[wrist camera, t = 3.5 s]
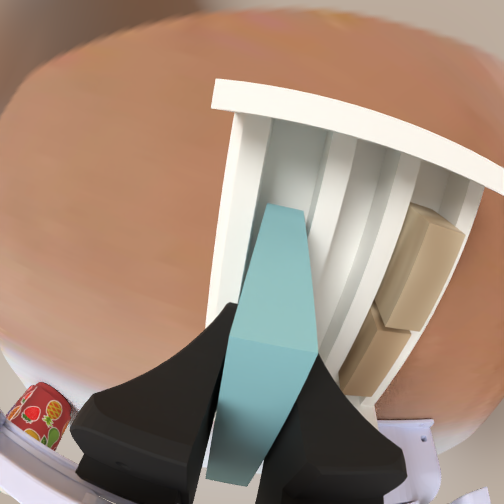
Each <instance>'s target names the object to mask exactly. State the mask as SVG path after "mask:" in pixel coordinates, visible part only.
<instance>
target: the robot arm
mask: <svg viewBox="0 0 504 504" xmlns="http://www.w3.org/2000/svg"><path fill="white" fill-rule="evenodd" d="M237 307H238V304H236V303H232V302H229V303H227V304H226V305H225V307H224V308H223V310H222V311H221V312H220V313H219V315H218V316H217V317H216V318H215V319H214V320H213V322H212V323H211V324H210V325H209V326H208V327H207V328H206V329H205V330H204V331H203V332H202V333H201V334H200V335H199V336H197V337H196V338H195V339H194V340H193V341H192V342H191V343H190V344H188V345H187V346H186V347H185V348H183V349H182V350H181V351H180V352H178V353H177V354H176V355H174V356H173V357H171V358H170V359H168V360H167V361H165V362H164V363H162V364H160V365H159V366H157V367H156V368H154V369H152V370H150V371H148V372H147V373H145V374H143V375H140V376H138V377H136V378H134V379H132V380H130V381H128V382H126V383H123V384H121V385H118V386H115V387H112V388H110V389H107V390H104V391H101V392H98V393H94V394H93V395H92V396H91V397H90V398H89V399H88V401H87V402H86V403H85V404H84V405H83V407H82V408H81V410H80V411H79V413H78V415H77V416H76V418H75V420H74V421H73V423H72V425H71V426H70V432H71V435H72V437H73V439H74V440H75V441H76V443H77V444H78V446H79V447H80V449H81V450H82V451H83V453H84V455H83V458H82V459H81V461H80V463H79V464H77V463H75V462H73V461H71V460H69V459H67V458H66V457H64V456H62V455H60V454H59V453H57V452H55V451H54V450H52V449H50V448H49V447H47V446H45V445H44V444H42V443H41V442H39V441H38V440H36V439H35V438H33V437H32V436H30V435H29V434H27V433H26V432H24V431H23V430H21V429H20V428H19V427H17V426H16V425H15V424H13V423H12V422H11V421H9V420H8V419H7V418H6V416H5V415H4V414H3V412H2V411H1V409H0V487H1V488H3V489H4V490H5V491H6V492H7V493H8V494H10V495H11V496H12V497H13V498H15V499H16V500H17V501H18V502H19V503H21V504H112V503H111V502H114V503H116V504H193V501H194V496H195V492H196V488H197V484H198V480H199V476H200V472H201V468H202V464H203V460H204V456H205V452H206V448H207V444H208V440H209V436H210V432H211V428H212V424H213V420H214V417H215V414H216V410H217V405H218V399H219V393H220V387H221V381H222V375H223V369H224V363H225V357H226V352H227V346H228V340H229V335H230V331H231V328H232V324H233V321H234V317H235V314H236V310H237ZM377 423H378V429H379V431H378V430H377V429H376V428H375V427H374V426H373V425H372V424H371V423H370V422H368V421H367V420H366V419H365V418H364V417H363V416H362V414H361V413H360V412H359V411H358V410H357V409H356V408H355V407H354V406H353V404H352V403H351V402H350V401H349V400H348V399H347V397H346V396H345V395H344V394H343V392H342V391H341V389H340V388H339V387H338V385H337V384H336V382H335V381H334V379H333V378H332V376H331V374H330V373H329V371H328V369H327V368H326V366H325V364H324V363H323V361H322V359H321V357H320V355H319V353H318V355H317V357H316V359H315V361H314V364H313V366H312V368H311V370H310V372H309V374H308V377H307V379H306V381H305V383H304V385H303V387H302V389H301V391H300V393H299V395H298V397H297V399H296V401H295V403H294V405H293V407H292V409H291V411H290V413H289V415H288V417H287V419H286V420H285V422H284V424H283V426H282V428H281V430H280V432H279V433H278V435H277V437H276V439H275V441H274V442H273V444H272V446H271V448H270V449H269V451H268V453H267V455H266V456H265V458H264V463H263V469H262V474H261V479H260V485H259V489H258V494H257V498H256V502H255V504H429V503H430V502H431V501H432V500H433V499H434V498H435V496H436V495H437V493H438V491H439V487H440V483H441V469H440V465H439V461H438V456H437V452H436V448H435V444H434V441H433V437H432V433H431V430H430V427H431V426H432V425H433V424H434V420H433V419H422V420H377ZM99 496H100V497H99ZM101 497H102V498H101ZM103 498H105V499H107V500H109V501H111V502H109V501H107V500H105V499H103ZM448 504H491V502H490V498H489V493H488V489H487V487H483V488H480V489H478V490H475V491H472V492H469V493H467V494H465V495H463V496H461V497H459V498H457V499H456V500H454V501H453V502H452V503H448Z"/></svg>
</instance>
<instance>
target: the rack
mask: <svg viewBox="0 0 504 504" xmlns="http://www.w3.org/2000/svg"><path fill="white" fill-rule="evenodd" d="M211 108H213V109H219V110H224V111H230V112H235V114H234V120H233V125H232V131H231V137H230V144H229V150H228V156H227V162H226V169H225V176H224V182H223V189H222V196H221V203H220V210H219V217H218V225H217V232H216V240H215V248H214V256H213V264H212V272H211V281H210V289H209V298H208V307H207V317H206V327H205V329H206V328H207V327H208V326H209V325H210V324H211V323H212V322H213V320H214V319H215V318H216V317H217V316H218V315H219V313H220V312H221V311H222V310H223V308H224V307H225V305H226V304H227V303H229V302H232V303H236V304H238V303H239V300H240V296H241V293H242V289H243V286H244V282H245V279H246V275H247V272H248V268H249V265H250V261H251V258H252V255H253V251H254V248H255V244H256V241H257V237H258V234H259V230H260V227H261V223H262V220H263V216H264V213H265V209H266V206H267V203H270V204H274V205H279V206H284V207H289V208H293V209H298V210H302V211H304V218H305V226H306V233H307V241H308V249H309V258H310V267H311V276H312V285H313V295H314V305H315V316H316V328H317V341H318V353H319V355H320V357H321V359H322V361H323V363H324V364H325V366H326V368H327V369H328V371H329V373H330V374H331V376H332V378H333V379H334V381H335V382H336V384H337V385H338V387H339V388H340V384H339V375H338V371H339V370H340V368H341V366H342V364H343V362H344V360H345V358H346V356H347V354H348V353H349V351H350V349H351V347H352V345H353V343H354V341H355V339H356V337H357V335H358V333H359V330H360V328H361V326H362V324H363V322H364V320H365V318H366V316H367V313H368V311H369V309H370V307H371V305H372V302H373V300H374V298H375V295H376V293H377V291H378V288H379V286H380V284H381V281H382V279H383V276H384V274H385V271H386V269H387V266H388V264H389V261H390V259H391V256H392V253H393V251H394V248H395V245H396V242H397V240H398V237H399V234H400V231H401V228H402V225H403V222H404V219H405V216H406V213H407V210H408V207H409V204H410V202H412V203H415V204H418V205H421V206H424V207H427V208H430V209H433V210H434V211H435V212H437V213H438V214H440V215H441V216H442V217H444V218H445V219H446V220H448V221H449V222H450V223H451V224H453V225H454V226H455V227H457V228H458V229H459V230H460V231H462V232H463V233H464V234H465V235H466V236H465V238H464V241H463V243H462V246H461V249H460V251H459V253H458V256H457V258H456V261H455V263H454V265H453V268H452V270H451V272H450V274H449V276H448V279H447V281H446V283H445V285H444V287H443V289H442V291H441V293H440V295H439V297H438V299H437V301H436V303H435V305H434V307H433V309H432V311H431V313H430V315H429V317H428V318H427V320H426V322H425V324H424V326H423V327H422V329H421V331H420V332H418V331H411V330H410V332H411V334H412V335H411V337H410V338H409V340H408V342H407V344H406V345H405V347H404V349H403V350H402V352H401V353H400V355H399V357H398V358H397V360H396V361H395V363H394V365H393V366H392V368H391V369H390V371H389V372H388V374H387V375H386V377H385V378H384V380H383V381H382V383H381V384H380V386H379V387H378V388H377V390H376V391H375V393H374V394H373V395H372V397H364V396H351V395H345V396H346V397H347V399H348V400H349V401H350V402H351V403H352V404H353V406H354V407H355V408H356V409H357V410H358V411H359V412H360V413H361V414H362V416H363V417H364V418H365V419H366V420H367V421H368V422H370V423H371V424H372V425H373V426H374V427H375V428H376V429H377V430H378V431H379V429H378V423H377V417H376V412H375V406H374V404H375V403H376V402H377V400H378V399H379V398H380V396H381V395H382V394H383V392H384V391H385V390H386V388H387V387H388V385H389V384H390V383H391V381H392V380H393V378H394V377H395V375H396V374H397V372H398V371H399V369H400V368H401V366H402V365H403V363H404V362H405V360H406V359H407V357H408V356H409V354H410V352H411V351H412V349H413V348H414V346H415V344H416V343H417V341H418V339H419V338H420V336H421V334H422V333H423V331H424V329H425V327H426V326H427V324H428V322H429V320H430V318H431V317H432V315H433V313H434V311H435V309H436V307H437V305H438V303H439V301H440V299H441V297H442V295H443V293H444V291H445V289H446V287H447V285H448V283H449V281H450V279H451V277H452V274H453V272H454V270H455V268H456V265H457V263H458V261H459V258H460V256H461V254H462V251H463V249H464V246H465V244H466V241H467V238H468V236H469V233H470V230H471V228H472V225H473V222H474V219H475V216H476V213H477V210H478V207H479V204H480V201H481V198H482V194H483V191H484V187H487V188H489V189H491V190H493V191H495V192H497V193H499V194H501V195H503V196H504V168H502V167H500V166H499V165H497V164H495V163H493V162H492V161H490V160H488V159H486V158H484V157H482V156H481V155H479V154H477V153H475V152H473V151H471V150H469V149H467V148H465V147H463V146H461V145H459V144H457V143H454V142H452V141H450V140H448V139H446V138H444V137H441V136H439V135H437V134H434V133H432V132H430V131H427V130H425V129H423V128H420V127H418V126H415V125H412V124H410V123H407V122H405V121H402V120H399V119H396V118H394V117H391V116H388V115H385V114H382V113H379V112H376V111H373V110H370V109H367V108H363V107H360V106H357V105H353V104H350V103H346V102H342V101H339V100H335V99H331V98H327V97H323V96H319V95H315V94H310V93H306V92H301V91H296V90H291V89H286V88H281V87H275V86H269V85H263V84H256V83H249V82H242V81H234V80H225V79H216V82H215V87H214V93H213V99H212V104H211ZM216 411H217V410H216ZM215 417H216V414H215ZM215 417H214V420H213V421H215Z"/></svg>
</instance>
